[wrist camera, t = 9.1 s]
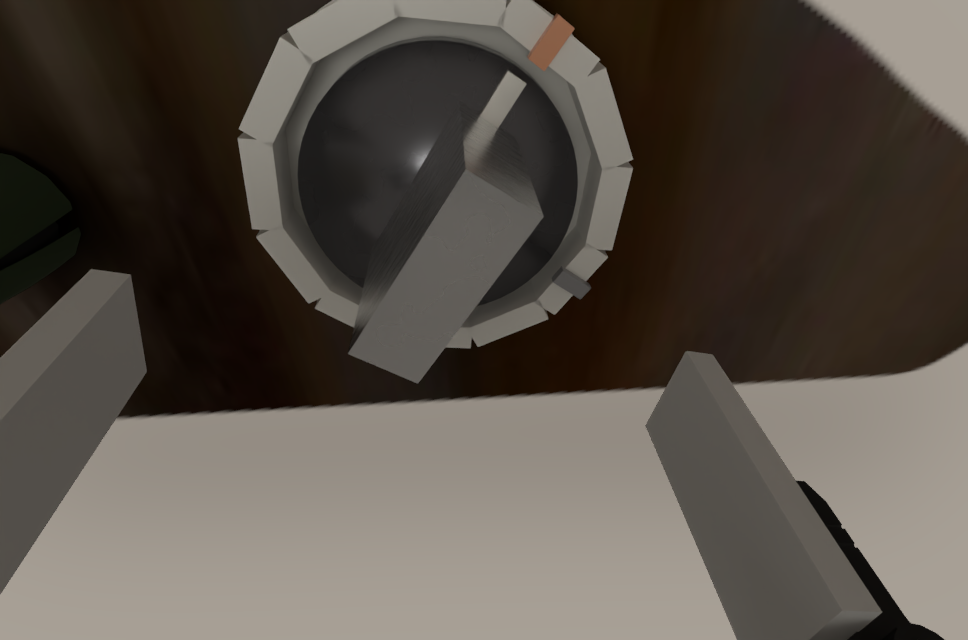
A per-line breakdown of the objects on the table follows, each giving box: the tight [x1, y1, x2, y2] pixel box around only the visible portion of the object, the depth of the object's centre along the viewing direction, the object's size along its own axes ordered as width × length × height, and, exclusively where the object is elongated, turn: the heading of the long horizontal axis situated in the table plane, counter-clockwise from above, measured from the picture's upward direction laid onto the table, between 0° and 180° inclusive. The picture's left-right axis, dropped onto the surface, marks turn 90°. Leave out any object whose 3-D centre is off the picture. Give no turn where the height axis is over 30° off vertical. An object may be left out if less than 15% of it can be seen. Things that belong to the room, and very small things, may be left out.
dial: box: [297, 36, 578, 384], centre depth 19 cm, size 11×11×8 cm
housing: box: [238, 0, 633, 348], centre depth 23 cm, size 15×15×5 cm
